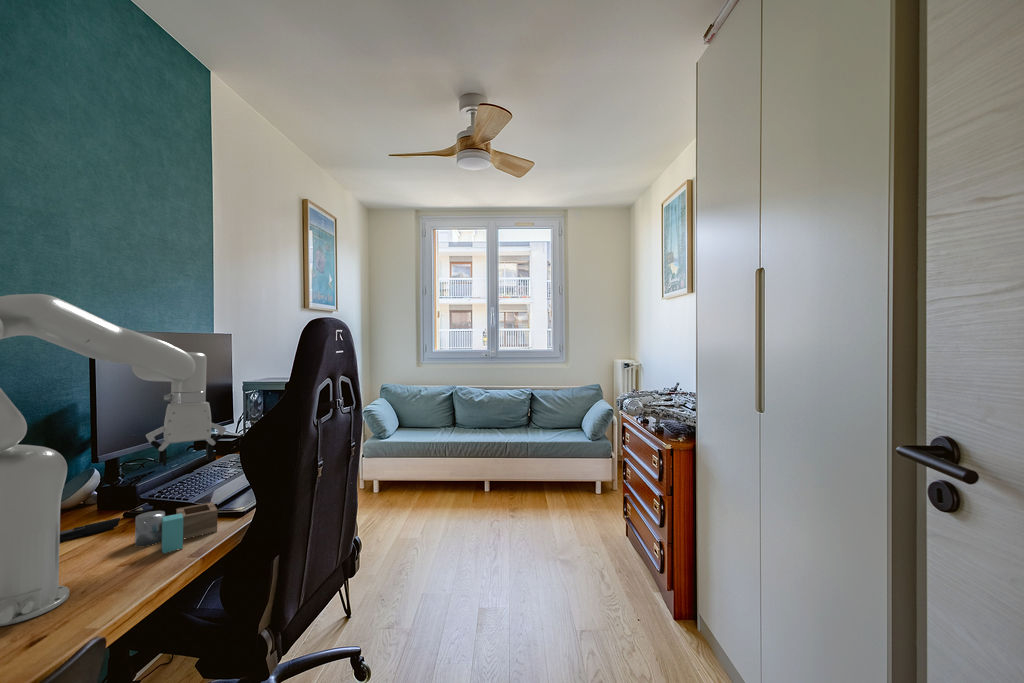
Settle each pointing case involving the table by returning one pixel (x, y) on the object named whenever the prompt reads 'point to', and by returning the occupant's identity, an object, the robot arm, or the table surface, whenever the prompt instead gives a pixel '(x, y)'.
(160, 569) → the table surface
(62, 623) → the table surface
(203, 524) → the block
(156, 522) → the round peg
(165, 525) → the square peg
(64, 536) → the electric trimmer
